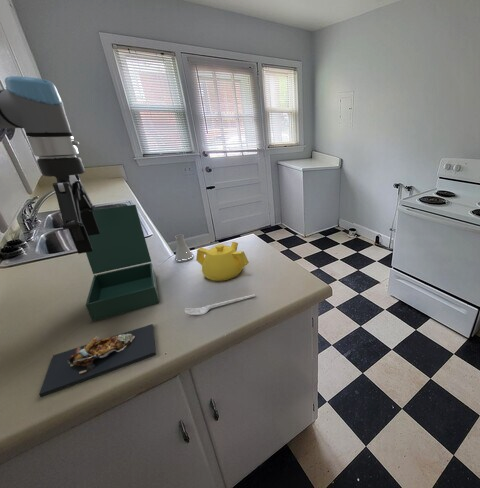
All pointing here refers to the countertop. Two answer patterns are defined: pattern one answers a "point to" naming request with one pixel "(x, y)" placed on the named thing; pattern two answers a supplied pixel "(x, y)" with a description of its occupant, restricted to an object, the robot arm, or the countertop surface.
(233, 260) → the teapot
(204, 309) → the white spoon
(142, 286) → the box
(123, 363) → the trivet mat
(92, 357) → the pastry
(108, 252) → the box lid
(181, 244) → the flask
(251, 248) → the countertop surface
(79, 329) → the countertop surface
